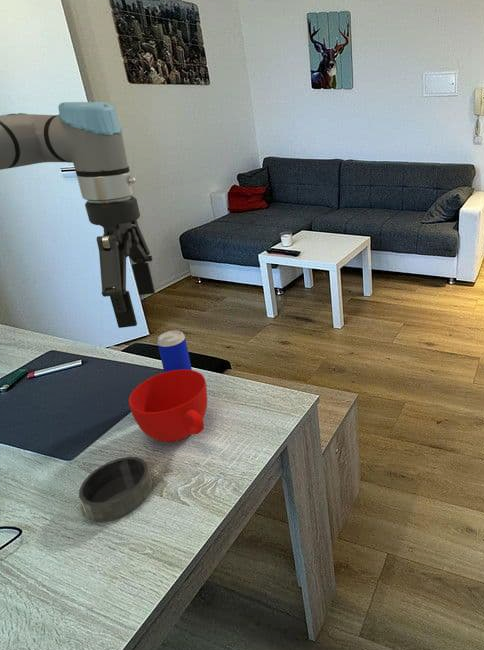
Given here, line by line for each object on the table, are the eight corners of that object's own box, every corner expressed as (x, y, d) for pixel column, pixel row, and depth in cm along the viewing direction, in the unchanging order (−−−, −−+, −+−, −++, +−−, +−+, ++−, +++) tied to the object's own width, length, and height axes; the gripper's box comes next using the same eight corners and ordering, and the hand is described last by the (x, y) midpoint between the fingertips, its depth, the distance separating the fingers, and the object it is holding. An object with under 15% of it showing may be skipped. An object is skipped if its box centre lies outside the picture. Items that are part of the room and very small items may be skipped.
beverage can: (187, 384, 99) (174, 327, 93) (201, 392, 96) (189, 333, 91) (165, 396, 95) (151, 337, 89) (179, 405, 92) (166, 345, 87)
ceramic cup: (172, 478, 75) (160, 434, 71) (128, 435, 84) (115, 393, 80) (238, 434, 84) (231, 393, 81) (192, 400, 94) (183, 361, 90)
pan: (71, 512, 69) (64, 494, 67) (124, 467, 77) (119, 450, 75) (115, 531, 66) (108, 513, 64) (165, 483, 74) (160, 465, 72)
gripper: (112, 215, 64) (143, 339, 72) (152, 183, 86) (172, 280, 94) (52, 219, 62) (91, 346, 70) (109, 185, 84) (134, 284, 92)
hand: (138, 308), depth 82 cm, fingers open, 13 cm apart
